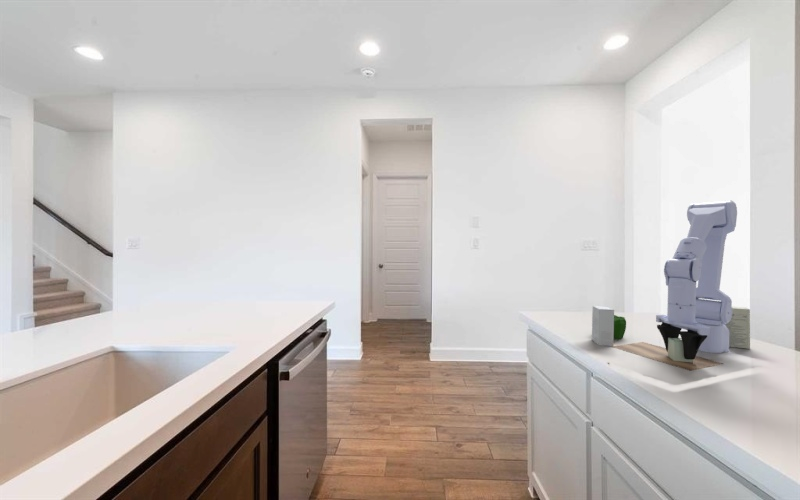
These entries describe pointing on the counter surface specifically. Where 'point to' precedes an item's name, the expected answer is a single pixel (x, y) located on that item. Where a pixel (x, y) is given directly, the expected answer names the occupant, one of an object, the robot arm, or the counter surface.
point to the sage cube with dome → (676, 350)
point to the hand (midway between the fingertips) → (680, 355)
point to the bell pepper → (619, 327)
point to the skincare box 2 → (739, 328)
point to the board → (665, 356)
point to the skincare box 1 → (603, 325)
